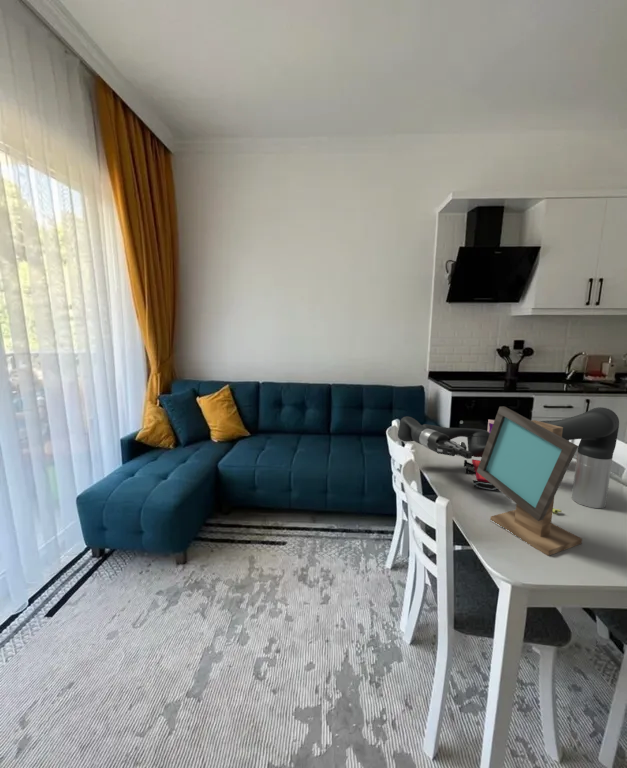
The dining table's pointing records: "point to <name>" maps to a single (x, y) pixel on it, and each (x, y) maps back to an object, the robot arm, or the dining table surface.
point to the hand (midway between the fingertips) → (470, 456)
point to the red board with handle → (478, 476)
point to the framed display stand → (538, 522)
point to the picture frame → (525, 461)
